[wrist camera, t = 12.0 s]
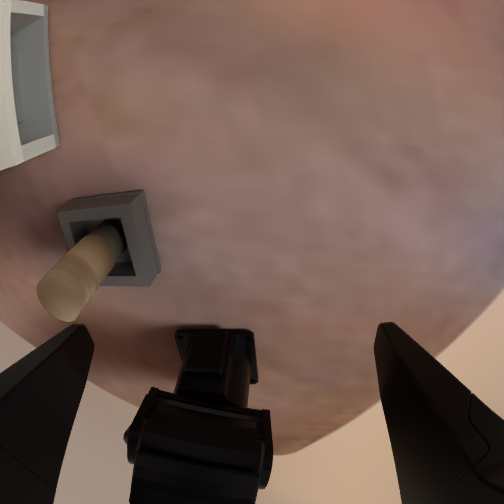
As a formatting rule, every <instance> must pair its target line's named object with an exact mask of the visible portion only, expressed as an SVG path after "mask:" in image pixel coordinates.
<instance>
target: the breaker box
mask: <svg viewBox="0 0 504 504" xmlns="http://www.w3.org/2000/svg"><path fill="white" fill-rule="evenodd" d="M57 147H60V142H59V136H58V130H57V124H56V117H55V110H54V103H53V94H52V85H51V75H50V62H49V45H48V5H43V4H38V3H32V2H26V1H20V0H0V170H3V169H6V168H9V167H13V166H16V165H18V164H20V163H22V162H25V161H27V160H29V159H31V158H33V157H36V156H38V155H40V154H43V153H45V152H47V151H50V150H52V149H55V148H57Z"/></svg>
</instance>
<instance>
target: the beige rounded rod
mask: <svg viewBox="0 0 504 504" xmlns="http://www.w3.org/2000/svg"><path fill="white" fill-rule="evenodd" d="M127 247H128V245H127V241H126V237H125V233H124V229H123V225H122V224H120V223H119V222H117V221H115V220H104V221H103V222H101V223H100V224H99V225H98V226H97V227H96V228H95V229H94V230H93V231H92V232H91V233H90V234H88V235H86V236H84V237H83V238H82V239H81V240H80V241H79V242H78V243H77V244H76V245H75V246H74V247H73V248H72V249H71V250H70V251H69V252H68V253H67V254H66V255H65V256H64V257H63V258H62V259H61V260H60V261H59V262H58V263H57V264H56V265H55V266H54V267H53V268H52V269H51V270H50V271H49V272H48V273H47V274H46V275H45V276H44V277H43V278H42V280H41V281H40V282H39V283H38V285H37V295H38V298H39V300H40V302H41V304H42V305H43V307H44V308H45V309H46V310H47V311H48V312H49V313H50V314H51V315H52V316H54V317H55V318H57V319H59V320H61V321H65V322H71V321H74V320H75V319H76V318H77V316H78V315H79V314H80V312H81V311H82V309H83V308H84V306H85V305H86V304H87V302H88V301H89V299H90V298H91V297H92V295H93V294H94V293H95V291H96V290H97V288H98V287H99V286H100V284H101V283H102V282H103V280H104V279H105V278H106V276H107V275H108V274H109V272H110V271H111V270H112V268H113V267H114V265H115V262H116V261H117V260H118V258H119V257H120V256H121V254H122V253H123V252H124V251H125V249H126V248H127Z"/></svg>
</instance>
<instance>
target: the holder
mask: <svg viewBox="0 0 504 504" xmlns="http://www.w3.org/2000/svg"><path fill="white" fill-rule="evenodd" d="M57 215H58V218H59V222H60V225H61V228H62V232H63V235H64V238H65V241H66V244H67V247H68V250H69V251H70V250H71V249H72V248H73V247H74V246H75V245H76V244H77V243H78V242H79V241H80V240H81V239H82V238H83V237H84V236H86V235H88V234H90V233H91V232H92V231H93V230H94V229H95V228H96V227H97V226H98V225H99V224H100V223H101V222H103V221H104V220H115V221H117V222H119V223H120V224H122V225H123V229H124V233H125V237H126V241H127V245H128V247H127V248H126V249H125V251H124V252H123V253H122V254H121V256H120V257H119V258H118V260H117V261H116V262H115V265H114V267H113V268H112V270H111V271H110V272H109V274H108V275H107V276H106V278H105V279H104V280H103V282H102V283H101V284H100V286H150V285H151V283H152V282H153V280H154V278H155V276H156V274H157V273H160V271H161V267H160V263H159V258H158V254H157V250H156V246H155V241H154V237H153V232H152V228H151V223H150V218H149V213H148V209H147V204H146V199H145V193H144V190H140V191H131V192H123V193H115V194H107V195H99V196H92V197H84V198H77V199H72V200H70V201H69V204H68V205H66V206H65V207H63V208H62V209H61V210H59V211H58V212H57Z"/></svg>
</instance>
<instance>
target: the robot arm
mask: <svg viewBox="0 0 504 504" xmlns="http://www.w3.org/2000/svg"><path fill="white" fill-rule="evenodd" d="M180 335H181V336H180ZM246 336H249V337H246ZM175 340H176V343H177V346H178V349H179V353H180V356H181V359H182V366H181V369H180V373H179V376H178V379H177V383H176V386H175V390H174V393H170V392H166V391H162V390H159V388H155V387H151V389H150V391H149V393H148V394H146V396H145V398H144V400H143V402H142V404H141V406H140V408H139V410H138V412H137V414H136V416H135V418H134V420H133V422H132V424H131V425H130V426H129V427H128V429H127V430H126V431H125V433H124V441H125V442H126V444H127V458H128V462H129V463H131V464H134V468H133V476H132V483H131V493H130V498H129V503H130V504H255V501H256V496H257V492H258V489H265V487H266V486H267V484H268V481H269V477H270V473H271V469H272V462H273V442H272V430H271V419H270V410H265V409H262V410H257V409H250V408H247V405H248V395H249V384H256V383H257V382H258V370H257V359H256V349H255V339H254V333H253V332H251V331H230V330H177V331H176V333H175ZM93 352H94V342H93V340H92V338H91V336H90V334H89V332H88V330H87V328H86V326H85V325H83V324H72V325H71V326H69V327H68V328H66V329H65V330H63V331H62V332H60V333H59V334H57V335H56V336H54V337H53V338H51V339H50V340H48V341H47V342H45V343H44V344H42V345H41V346H39V347H38V348H36V349H35V350H33V351H32V352H30V353H29V354H28V355H26V356H25V357H23V358H22V359H20V360H19V361H18V362H16V363H15V364H13V365H12V366H10V367H9V368H7V369H6V370H4V371H3V372H1V373H0V504H53V502H54V497H55V492H56V487H57V483H58V479H59V475H60V470H61V466H62V462H63V459H64V455H65V451H66V447H67V444H68V440H69V436H70V433H71V430H72V426H73V423H74V420H75V417H76V413H77V410H78V407H79V404H80V401H81V398H82V395H83V392H84V388H85V385H86V381H87V376H88V372H89V368H90V364H91V360H92V356H93ZM374 354H375V361H376V368H377V376H378V384H379V391H380V398H381V402H382V406H383V411H384V415H385V419H386V424H387V428H388V432H389V437H390V442H391V447H392V451H393V456H394V461H395V467H396V472H397V477H398V483H399V489H400V495H401V501H402V504H504V420H503V419H502V418H501V417H500V416H498V415H497V414H496V413H495V412H493V411H492V410H491V409H490V408H489V407H488V406H486V405H485V404H484V403H483V402H482V401H481V400H480V399H478V397H476V396H475V395H474V394H473V393H472V394H471V391H470V390H469V389H468V388H467V387H466V386H465V385H463V384H462V383H461V382H460V381H459V380H458V379H457V378H456V377H455V376H454V375H452V374H451V373H450V372H449V371H448V370H447V369H446V368H445V367H444V366H442V365H441V364H440V363H439V362H438V361H437V360H436V359H435V358H434V357H433V356H431V355H430V354H429V353H428V352H427V351H426V350H425V349H424V348H422V347H421V346H420V345H419V344H418V343H417V342H416V341H414V340H413V339H412V338H411V337H410V336H409V335H408V334H406V333H405V332H404V331H403V330H402V329H401V328H400V327H398V326H397V325H396V324H395V323H393V322H385V323H380V324H379V325H378V329H377V333H376V338H375V342H374Z"/></svg>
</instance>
